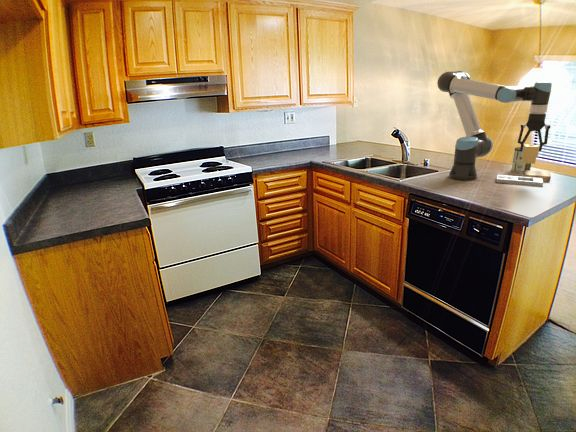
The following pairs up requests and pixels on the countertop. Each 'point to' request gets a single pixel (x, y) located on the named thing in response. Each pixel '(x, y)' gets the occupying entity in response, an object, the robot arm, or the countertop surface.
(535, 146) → the cube with dome knob
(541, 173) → the pedestal
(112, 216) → the countertop surface
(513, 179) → the beige panel with cutout
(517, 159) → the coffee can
